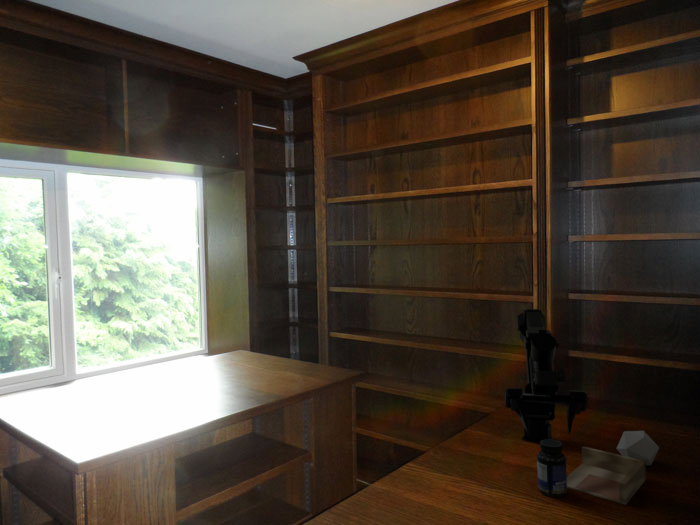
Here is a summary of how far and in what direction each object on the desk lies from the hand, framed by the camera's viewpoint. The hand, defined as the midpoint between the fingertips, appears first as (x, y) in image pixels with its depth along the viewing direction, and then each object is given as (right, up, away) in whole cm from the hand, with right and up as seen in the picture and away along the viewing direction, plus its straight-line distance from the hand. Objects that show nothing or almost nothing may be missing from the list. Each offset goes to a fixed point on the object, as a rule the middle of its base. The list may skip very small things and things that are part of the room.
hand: (548, 431), depth 120 cm
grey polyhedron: (+26, -11, +9) cm, 30 cm away
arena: (+12, -11, -1) cm, 17 cm away
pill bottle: (-1, -12, -5) cm, 13 cm away
